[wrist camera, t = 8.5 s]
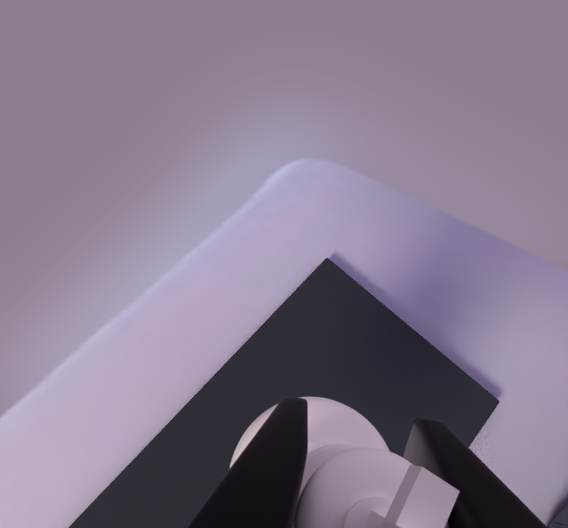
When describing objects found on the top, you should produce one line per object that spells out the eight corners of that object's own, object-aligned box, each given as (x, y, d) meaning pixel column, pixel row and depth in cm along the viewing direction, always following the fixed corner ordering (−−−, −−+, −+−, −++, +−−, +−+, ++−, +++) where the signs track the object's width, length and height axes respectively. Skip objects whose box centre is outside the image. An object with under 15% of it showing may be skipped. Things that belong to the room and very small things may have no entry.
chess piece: (193, 514, 13) (-3, 700, 3) (286, 366, 14) (324, 220, 5) (343, 627, 12) (632, 1285, 3) (423, 455, 13) (771, 476, 4)
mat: (246, 762, 15) (245, 772, 15) (62, 536, 17) (57, 539, 17) (494, 402, 20) (500, 401, 19) (325, 260, 22) (327, 257, 22)
